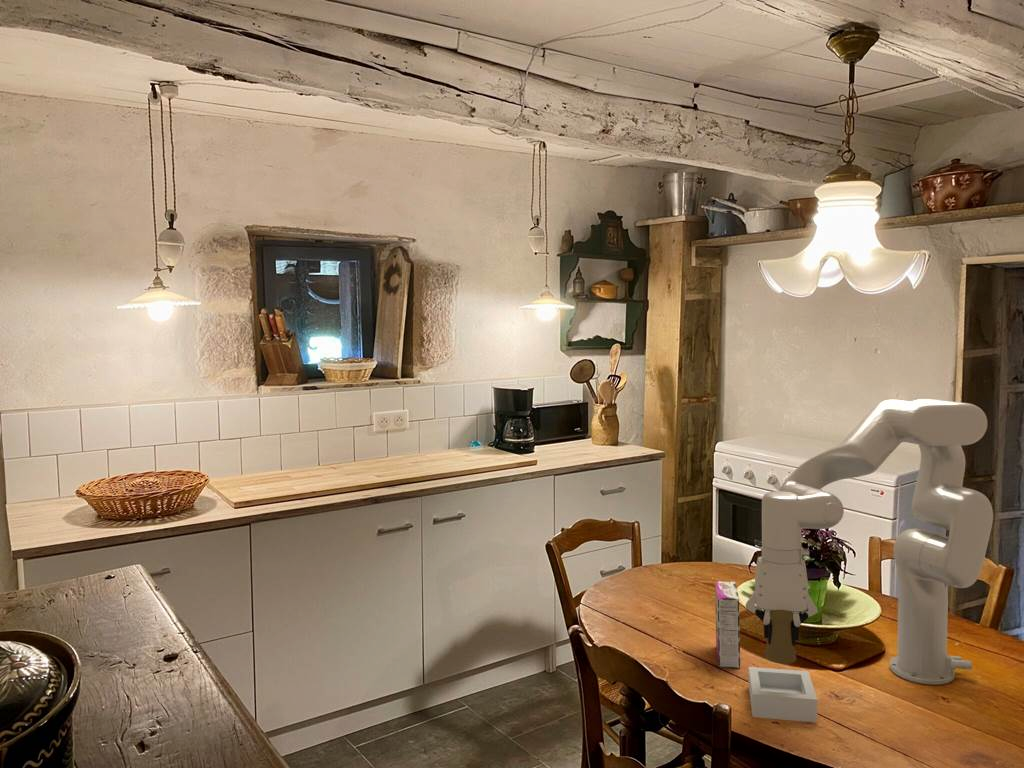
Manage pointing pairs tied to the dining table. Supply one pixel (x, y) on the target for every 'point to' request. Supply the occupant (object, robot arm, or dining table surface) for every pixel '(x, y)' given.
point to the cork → (781, 638)
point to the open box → (782, 694)
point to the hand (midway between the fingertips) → (781, 641)
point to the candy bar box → (727, 624)
